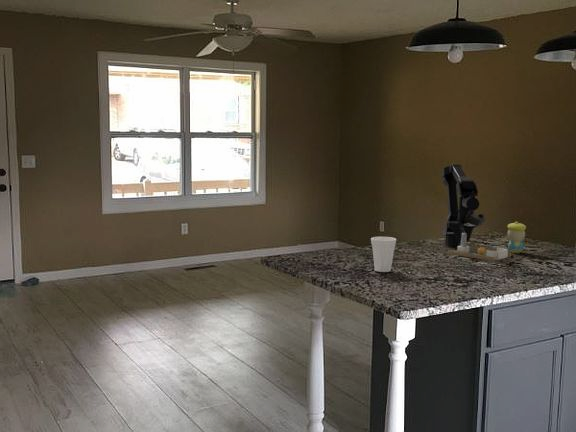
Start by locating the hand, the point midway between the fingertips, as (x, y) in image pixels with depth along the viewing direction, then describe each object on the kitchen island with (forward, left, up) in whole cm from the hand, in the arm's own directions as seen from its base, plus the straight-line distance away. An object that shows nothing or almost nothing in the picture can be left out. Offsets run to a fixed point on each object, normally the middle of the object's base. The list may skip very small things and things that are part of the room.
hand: (463, 242), depth 284 cm
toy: (+16, +18, -6) cm, 25 cm away
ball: (+9, 0, -3) cm, 9 cm away
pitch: (+8, 0, -6) cm, 10 cm away
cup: (-3, -56, -6) cm, 56 cm away
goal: (+17, 0, -5) cm, 17 cm away
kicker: (0, 0, -5) cm, 5 cm away
